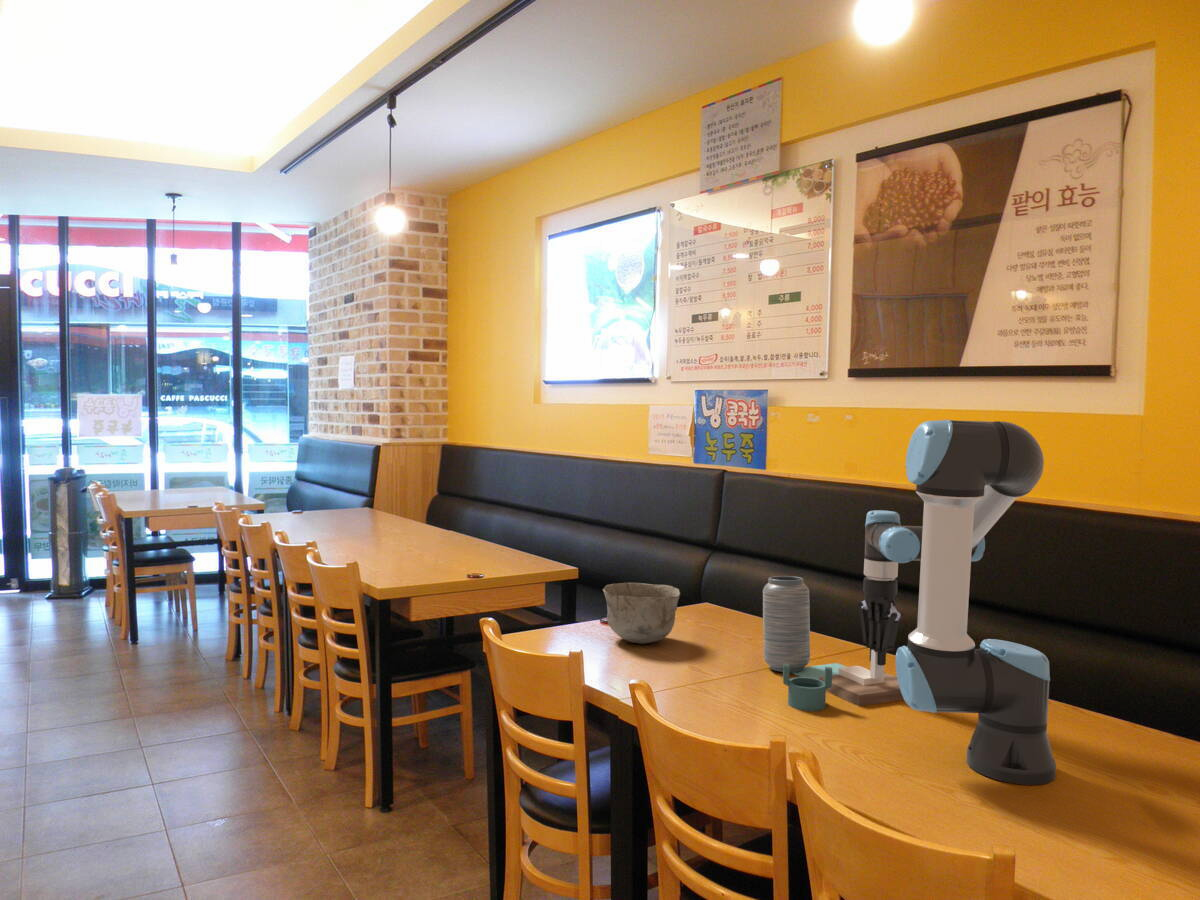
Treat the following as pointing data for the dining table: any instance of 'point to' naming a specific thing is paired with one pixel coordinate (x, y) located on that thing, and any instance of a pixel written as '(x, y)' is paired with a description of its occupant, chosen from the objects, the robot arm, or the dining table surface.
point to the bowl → (641, 610)
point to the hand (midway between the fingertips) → (876, 677)
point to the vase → (786, 623)
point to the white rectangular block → (859, 675)
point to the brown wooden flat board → (865, 690)
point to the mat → (818, 670)
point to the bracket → (807, 690)
